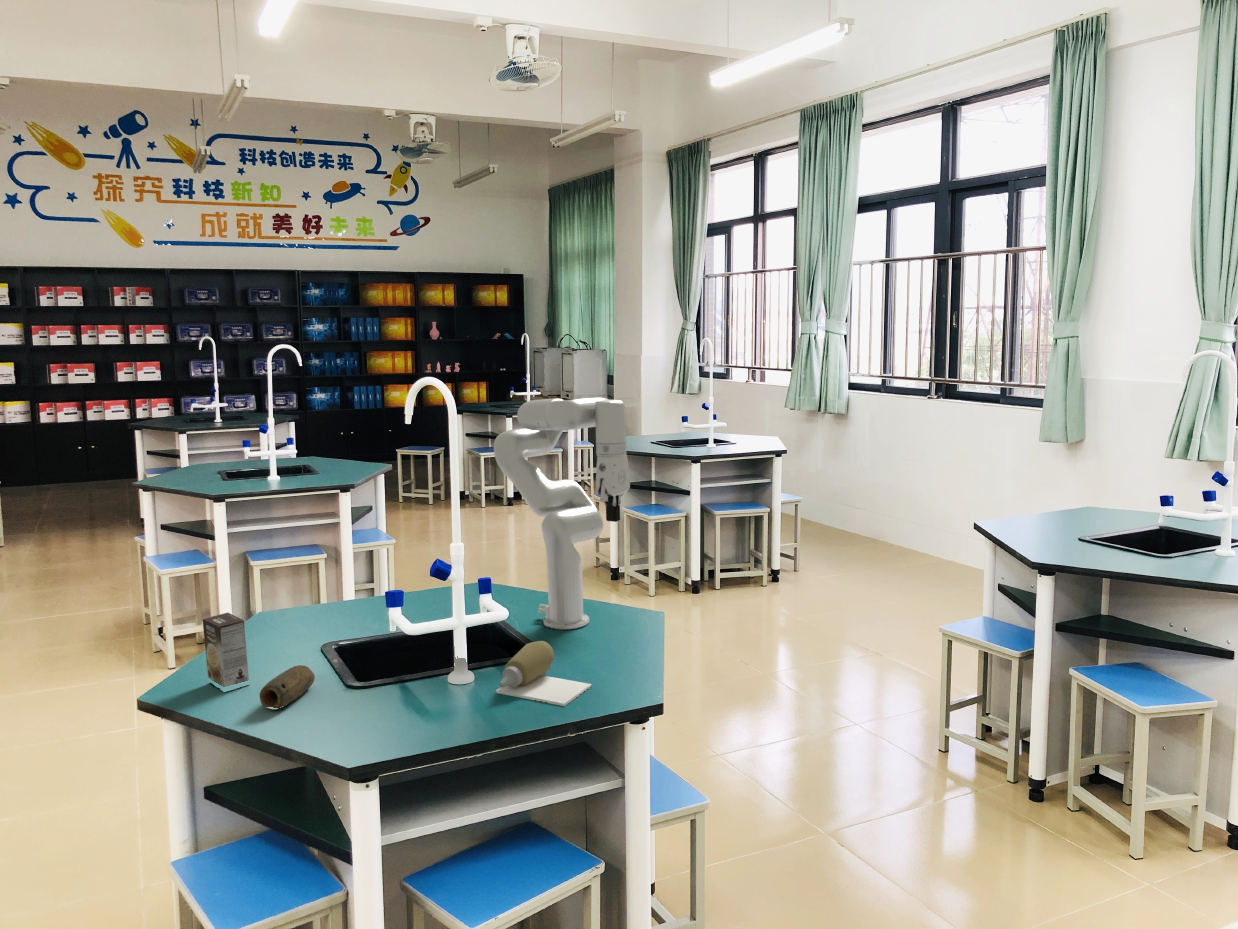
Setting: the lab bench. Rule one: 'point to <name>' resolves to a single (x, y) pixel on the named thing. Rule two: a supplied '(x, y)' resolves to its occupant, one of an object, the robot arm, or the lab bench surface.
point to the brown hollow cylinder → (286, 686)
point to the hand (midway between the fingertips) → (613, 520)
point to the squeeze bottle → (528, 664)
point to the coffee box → (226, 649)
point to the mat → (548, 690)
